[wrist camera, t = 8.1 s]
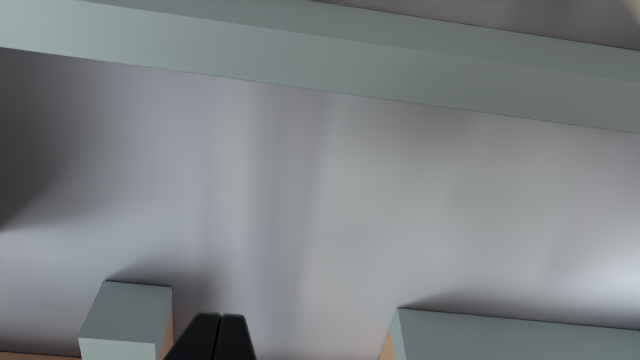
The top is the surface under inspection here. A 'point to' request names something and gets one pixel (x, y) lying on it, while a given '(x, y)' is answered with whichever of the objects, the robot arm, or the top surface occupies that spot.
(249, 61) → the trap box
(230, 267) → the top surface
